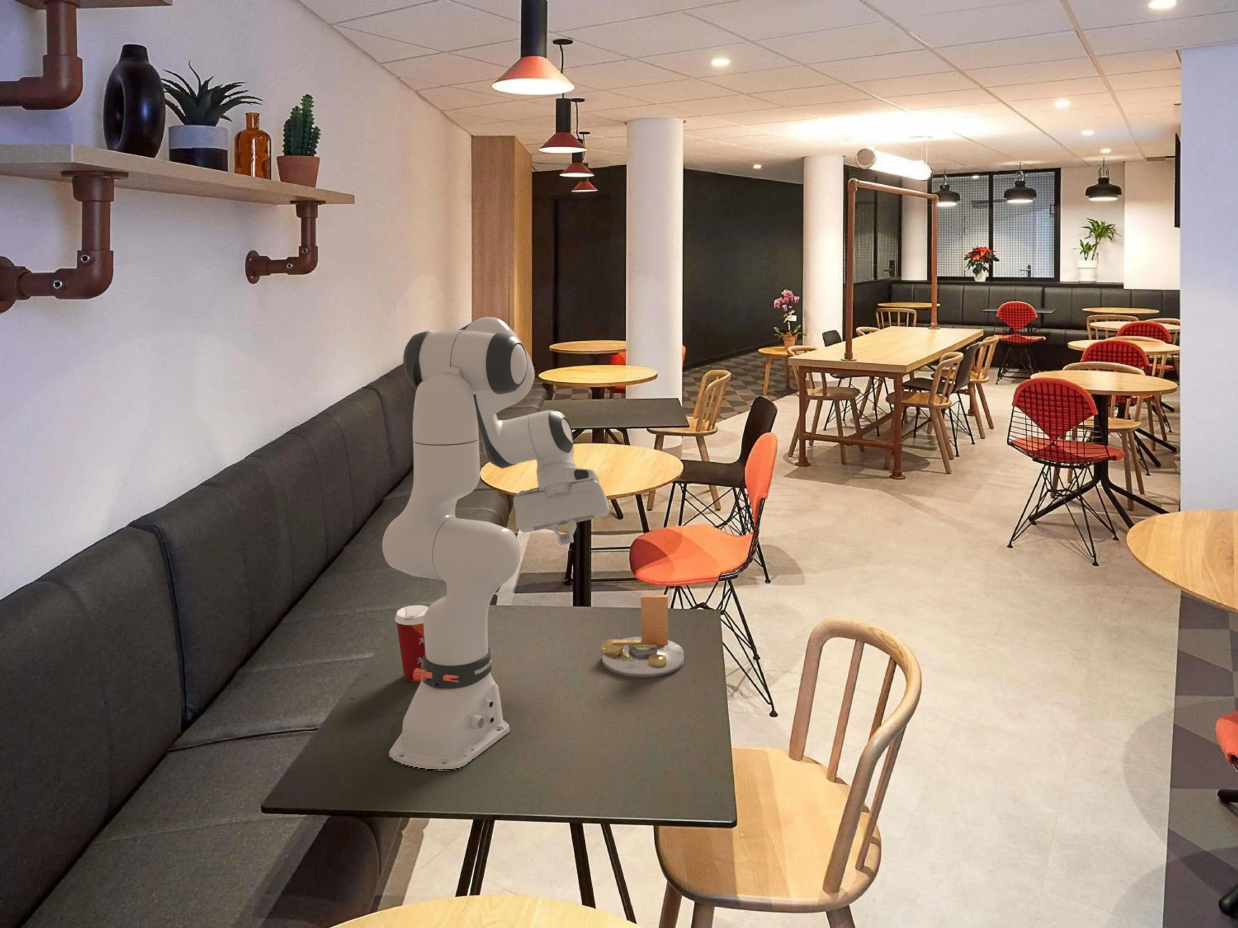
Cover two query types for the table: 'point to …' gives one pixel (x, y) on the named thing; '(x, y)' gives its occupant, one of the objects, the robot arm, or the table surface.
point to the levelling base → (645, 660)
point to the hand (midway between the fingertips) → (566, 543)
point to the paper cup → (411, 638)
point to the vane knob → (645, 626)
